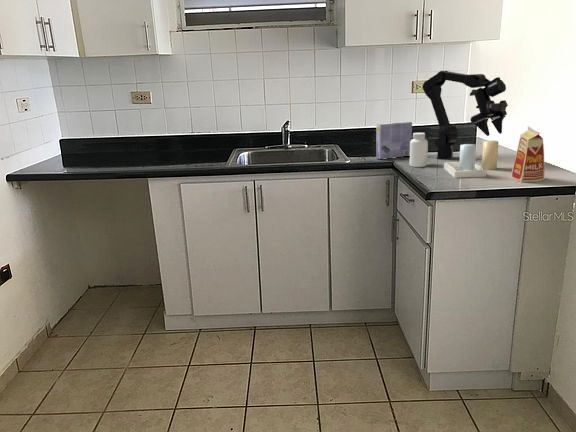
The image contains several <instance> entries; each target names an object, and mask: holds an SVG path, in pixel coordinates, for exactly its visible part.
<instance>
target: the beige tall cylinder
mask: <svg viewBox="0 0 576 432" xmlns="http://www.w3.org/2000/svg"><path fill="white" fill-rule="evenodd" d="M482 143H483V144H482V158H481V168H483V169H485V170H486V171H495V170H497V169H498V155H499V141H498V140H483V141H482Z"/></svg>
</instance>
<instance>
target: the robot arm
mask: <svg viewBox="0 0 576 432" xmlns="http://www.w3.org/2000/svg"><path fill="white" fill-rule="evenodd" d="M446 81H450V82H455V83H459V84H463V85H464V86H466V87H468V88H471V92H470V93H469V97H473V96H474V98H475V101H476V103H477V105H476V106H475V108H476V109H478V110H479V113H476V114H474V115H473V116H471V117H470V123H471V124H473V125H474V126H476V127H477V128H478V129H479V130H481V132H482V133H483V134H484V135H486V136H487V137H488V136H490V129H489V126H488V122H489V119H490V120H491V124H492V125H493V127H494V128H495V129H496V131H497V133H498V134H503V121H504V119H505V118H506V116H507V115H508V113H507V107H508V106H509V104H508V103H507V100H505V99H503V100H499V102H497V103H496V102H495V100H491V98H494V97H497V96H499V95H500V94H502V93H504V92H505V91H506V90H507V87H506V83H505V82H504V81H503V80H502V79H501V77H500V76H498V77H494V78H493V79H492V80H490V79H488V78H487V77H486V75H485V74H483V73H473V74H467V73H460V72H454V71H450V70H440V71H438V72H437V73H436V74H434V75H433V76H432V77H430V78H429V79H427V80H425V81H424V82H423V85H422V90H423V93H424V94H425V96H426V97H428V98H429V100H430V103H431V105H432V109H433V111H434V113H435V114H434V115H435V117H436V120H437V124H438V126H439V127H438V128H439V129H438V137H437V139H436V140H435V141H434V146H435V147H437V153H436V154H437V155H436V158H435V159H436V160H438V159H439V160H450V159H452V158H453V157H454V148H453V146H455V144H456V141H457V140H458V138H459V135H458V134H459V132H458V130H457V126H456V125H452V124H451V123H450V120H449V117H448V114H447V111H446V108H445V105H444V102H443V99H442V92H443V91H442V86H443V85H445V83H446ZM472 88H473V89H472ZM476 88H477V89H476Z"/></svg>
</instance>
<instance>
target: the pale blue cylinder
mask: <svg viewBox="0 0 576 432" xmlns="http://www.w3.org/2000/svg"><path fill="white" fill-rule="evenodd" d="M476 149H477V144H473V143H464V144H460V145H459V162H460V163H459V171H472V170H475V164H476V155H477V154H476V153H477V150H476Z"/></svg>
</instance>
